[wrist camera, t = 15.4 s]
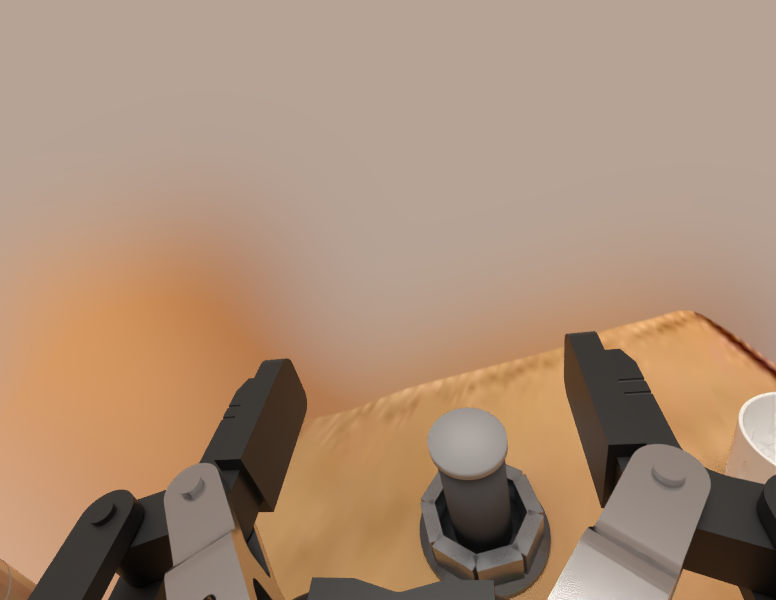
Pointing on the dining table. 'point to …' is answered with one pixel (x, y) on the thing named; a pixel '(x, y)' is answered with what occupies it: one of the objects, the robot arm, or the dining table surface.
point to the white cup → (754, 441)
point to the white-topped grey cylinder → (473, 477)
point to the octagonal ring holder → (502, 565)
